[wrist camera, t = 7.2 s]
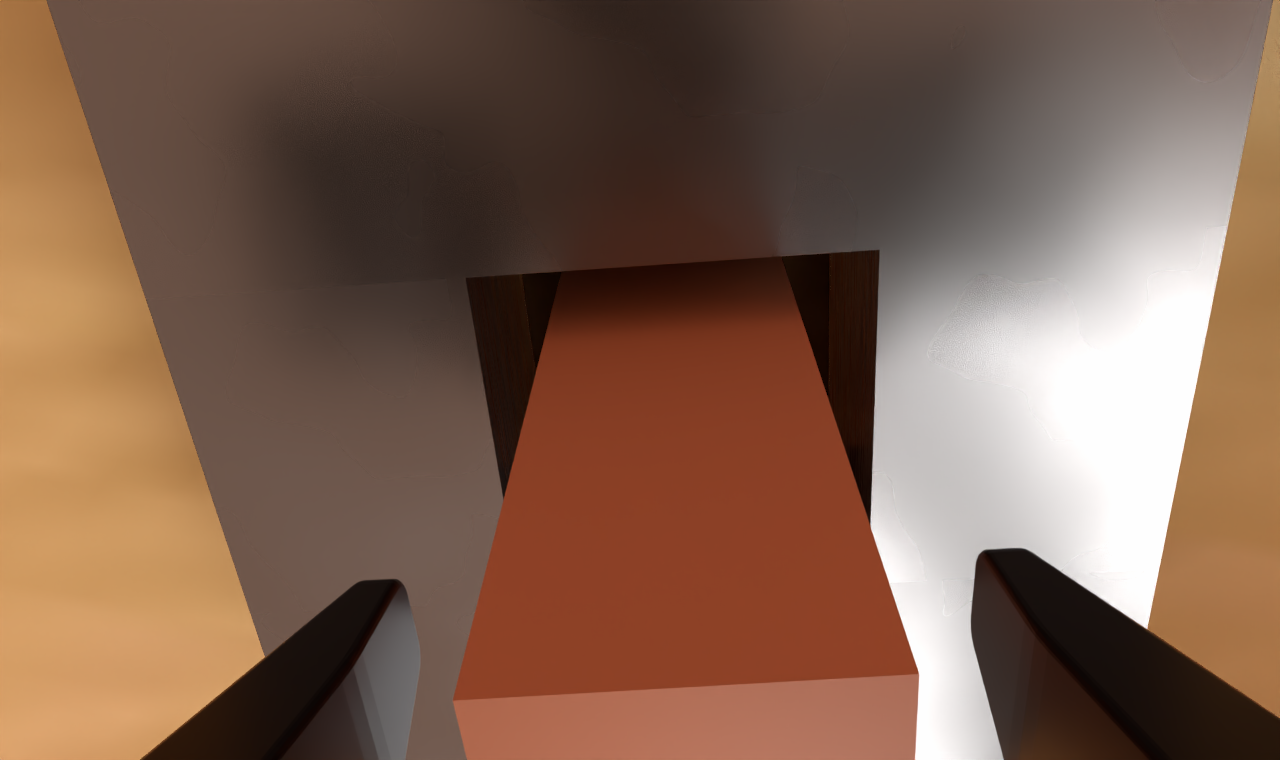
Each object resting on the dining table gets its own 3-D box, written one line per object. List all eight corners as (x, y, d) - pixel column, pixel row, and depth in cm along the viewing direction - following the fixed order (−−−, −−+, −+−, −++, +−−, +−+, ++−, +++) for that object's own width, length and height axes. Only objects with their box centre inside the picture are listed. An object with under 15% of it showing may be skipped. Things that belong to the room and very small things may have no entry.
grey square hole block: (1036, 613, 17) (1117, 773, 14) (374, 644, 18) (314, 803, 15) (1137, -153, 12) (1307, -170, 9) (186, -68, 13) (28, -55, 9)
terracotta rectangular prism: (777, 407, 15) (905, 966, 7) (591, 420, 16) (521, 980, 8) (771, 227, 14) (918, 674, 6) (568, 244, 14) (452, 700, 6)
